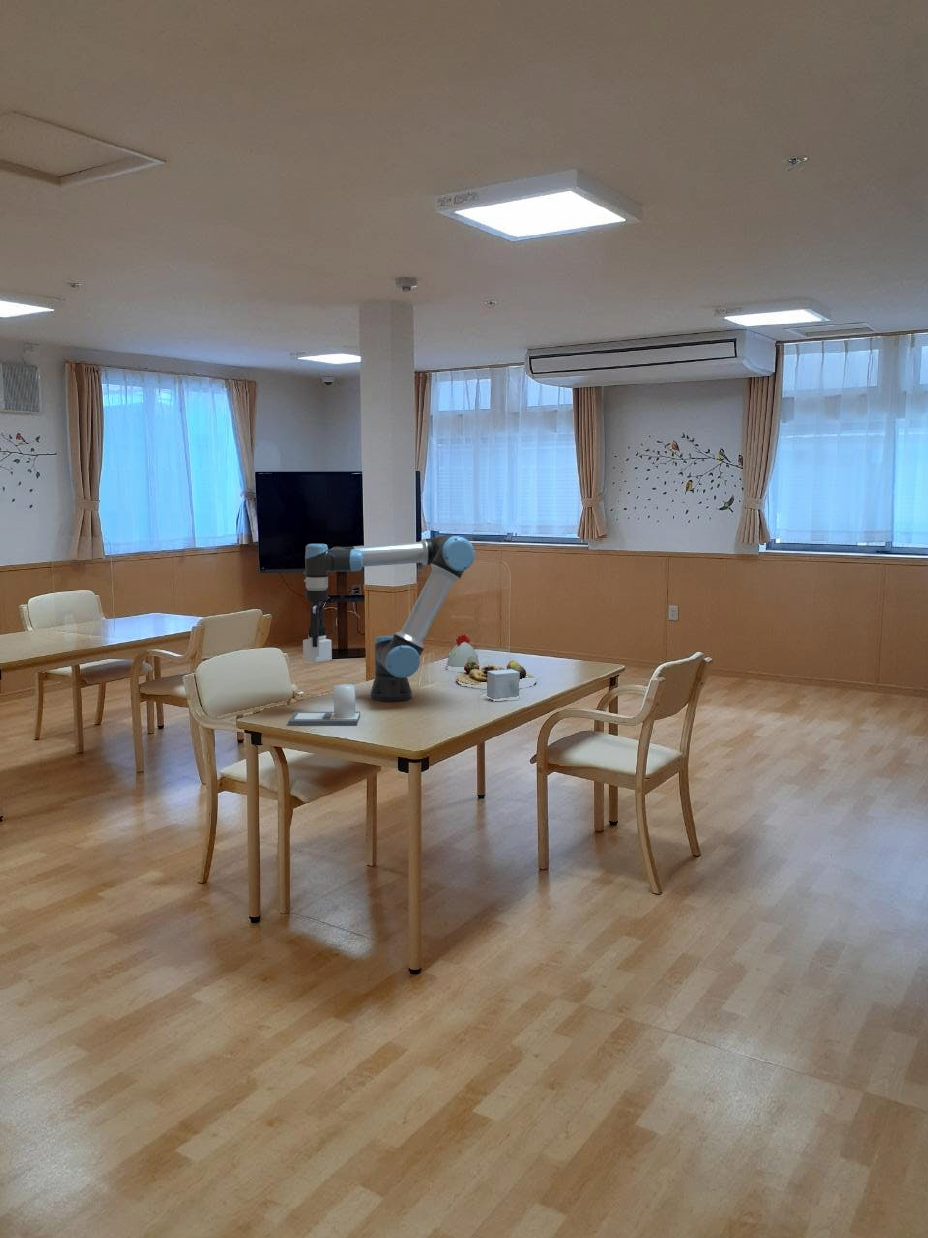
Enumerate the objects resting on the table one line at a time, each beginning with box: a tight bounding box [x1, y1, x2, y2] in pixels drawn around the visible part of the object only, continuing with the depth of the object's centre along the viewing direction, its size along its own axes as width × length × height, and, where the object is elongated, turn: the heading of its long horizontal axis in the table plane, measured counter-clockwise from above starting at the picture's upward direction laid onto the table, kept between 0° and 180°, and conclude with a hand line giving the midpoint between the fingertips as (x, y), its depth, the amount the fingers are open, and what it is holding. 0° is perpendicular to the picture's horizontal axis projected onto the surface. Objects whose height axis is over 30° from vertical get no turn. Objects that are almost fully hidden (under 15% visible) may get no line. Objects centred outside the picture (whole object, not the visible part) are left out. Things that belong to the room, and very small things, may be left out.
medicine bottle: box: [302, 625, 333, 663], centre depth 349 cm, size 7×7×12 cm
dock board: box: [288, 711, 361, 727], centre depth 336 cm, size 22×14×2 cm, turn 91°
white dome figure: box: [446, 634, 480, 667], centre depth 431 cm, size 14×14×15 cm
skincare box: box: [486, 669, 520, 699], centre depth 370 cm, size 10×6×10 cm, turn 115°
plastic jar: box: [332, 683, 356, 718], centre depth 335 cm, size 7×7×10 cm
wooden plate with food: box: [456, 659, 536, 685], centre depth 403 cm, size 32×32×8 cm
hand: (317, 653), depth 349 cm, fingers closed on medicine bottle, 10 cm apart
